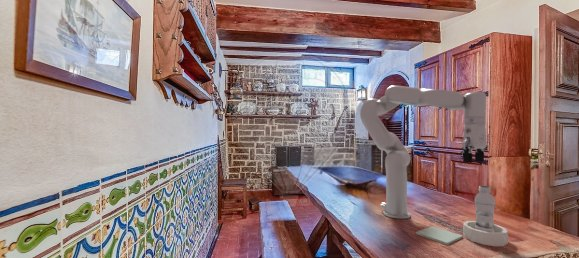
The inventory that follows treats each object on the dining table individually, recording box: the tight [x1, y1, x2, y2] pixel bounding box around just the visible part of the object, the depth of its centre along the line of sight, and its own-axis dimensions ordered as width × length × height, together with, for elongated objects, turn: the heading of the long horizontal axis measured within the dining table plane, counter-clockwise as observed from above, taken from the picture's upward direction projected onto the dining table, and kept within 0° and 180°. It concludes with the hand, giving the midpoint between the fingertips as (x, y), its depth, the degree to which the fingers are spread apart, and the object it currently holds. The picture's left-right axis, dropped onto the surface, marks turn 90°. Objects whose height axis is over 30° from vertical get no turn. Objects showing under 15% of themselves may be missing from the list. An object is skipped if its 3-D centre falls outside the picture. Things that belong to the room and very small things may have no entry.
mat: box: [415, 225, 464, 246], centre depth 105 cm, size 12×12×1 cm
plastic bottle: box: [474, 185, 496, 233], centre depth 102 cm, size 6×7×20 cm
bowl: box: [462, 220, 509, 247], centre depth 102 cm, size 13×13×4 cm
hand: (473, 161), depth 113 cm, fingers open, 9 cm apart
